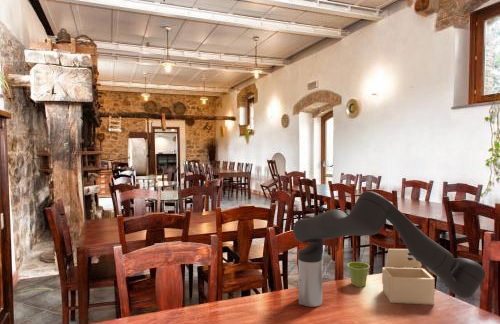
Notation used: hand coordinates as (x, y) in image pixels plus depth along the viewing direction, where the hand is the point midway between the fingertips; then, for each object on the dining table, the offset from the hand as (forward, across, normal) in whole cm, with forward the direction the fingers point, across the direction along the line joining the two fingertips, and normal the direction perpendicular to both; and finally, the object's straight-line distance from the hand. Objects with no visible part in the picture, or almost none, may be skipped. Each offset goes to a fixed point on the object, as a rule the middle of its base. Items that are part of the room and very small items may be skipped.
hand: (415, 250), depth 129 cm
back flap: (+16, +1, -10) cm, 19 cm away
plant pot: (+24, -16, -21) cm, 36 cm away
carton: (+12, +1, -21) cm, 24 cm away
